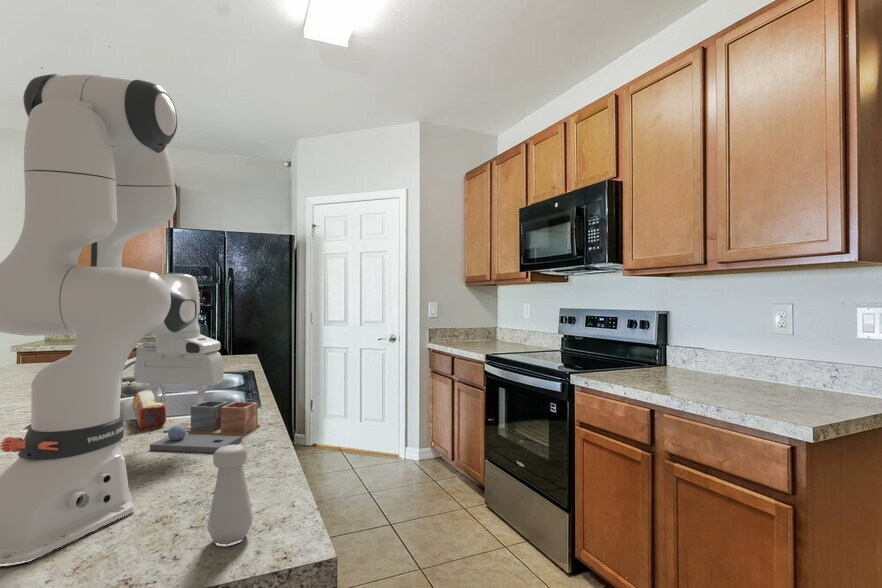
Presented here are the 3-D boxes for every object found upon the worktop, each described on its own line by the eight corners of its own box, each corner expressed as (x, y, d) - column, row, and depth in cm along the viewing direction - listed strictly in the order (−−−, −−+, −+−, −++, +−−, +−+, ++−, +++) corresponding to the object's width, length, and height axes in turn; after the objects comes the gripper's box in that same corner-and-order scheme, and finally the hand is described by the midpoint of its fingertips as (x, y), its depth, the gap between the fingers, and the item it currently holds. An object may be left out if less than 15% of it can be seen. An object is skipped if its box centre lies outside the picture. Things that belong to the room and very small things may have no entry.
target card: (185, 432, 113) (185, 431, 113) (163, 431, 114) (163, 430, 114) (203, 424, 120) (203, 423, 120) (182, 424, 121) (182, 422, 121)
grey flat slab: (221, 453, 99) (221, 447, 99) (149, 449, 101) (149, 444, 101) (241, 441, 107) (241, 436, 107) (175, 438, 108) (175, 433, 108)
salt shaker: (259, 528, 67) (259, 440, 67) (243, 550, 61) (243, 454, 61) (218, 529, 67) (219, 440, 67) (199, 551, 61) (199, 454, 61)
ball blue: (178, 443, 102) (178, 427, 102) (164, 442, 103) (164, 427, 103) (189, 438, 106) (189, 423, 106) (175, 438, 106) (175, 422, 106)
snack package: (167, 427, 118) (167, 401, 118) (137, 432, 114) (137, 405, 114) (159, 411, 135) (159, 388, 135) (132, 414, 131) (132, 391, 131)
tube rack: (242, 436, 110) (242, 409, 110) (187, 434, 112) (187, 407, 112) (259, 426, 118) (259, 401, 118) (208, 425, 120) (208, 400, 120)
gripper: (126, 344, 103) (126, 404, 103) (210, 346, 100) (210, 408, 101) (147, 340, 109) (147, 397, 109) (227, 342, 106) (227, 401, 107)
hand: (178, 402), depth 105 cm, fingers open, 8 cm apart
